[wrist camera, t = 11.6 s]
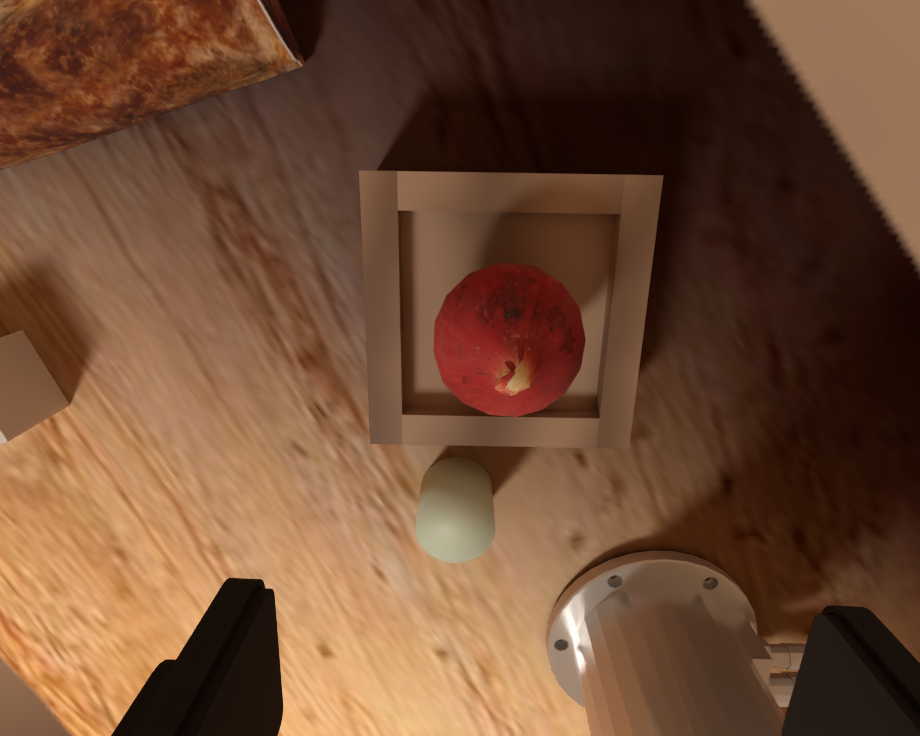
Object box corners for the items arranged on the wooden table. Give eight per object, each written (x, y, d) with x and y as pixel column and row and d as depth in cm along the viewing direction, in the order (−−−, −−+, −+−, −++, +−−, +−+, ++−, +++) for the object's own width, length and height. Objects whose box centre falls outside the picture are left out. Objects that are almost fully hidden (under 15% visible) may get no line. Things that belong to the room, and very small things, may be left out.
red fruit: (442, 245, 24) (431, 279, 17) (575, 256, 24) (624, 294, 17) (434, 372, 26) (421, 454, 19) (558, 382, 26) (594, 467, 19)
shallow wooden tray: (632, 174, 27) (663, 175, 22) (606, 410, 31) (628, 448, 26) (376, 170, 27) (358, 170, 22) (383, 405, 31) (370, 443, 26)
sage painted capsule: (492, 457, 32) (496, 495, 28) (490, 518, 33) (493, 563, 29) (421, 455, 32) (415, 494, 28) (421, 517, 33) (415, 561, 29)
